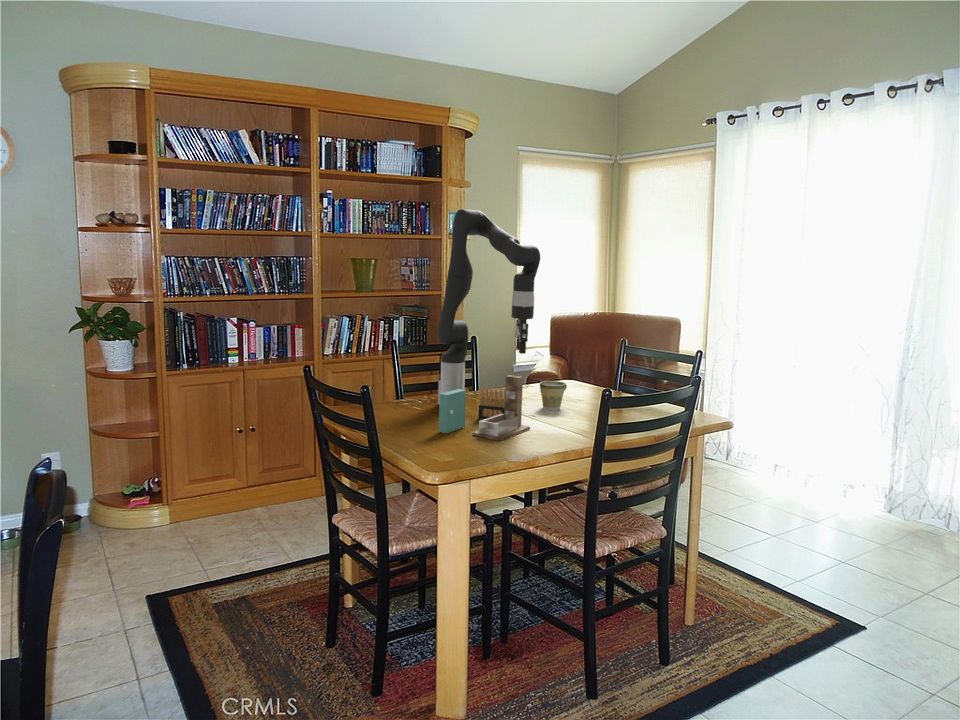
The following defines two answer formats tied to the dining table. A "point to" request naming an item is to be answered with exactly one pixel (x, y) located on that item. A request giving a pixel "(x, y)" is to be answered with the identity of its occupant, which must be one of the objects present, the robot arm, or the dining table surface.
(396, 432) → the dining table surface
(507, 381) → the hinge frame
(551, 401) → the ceramic cup
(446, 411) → the teal door
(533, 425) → the dining table surface
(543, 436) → the dining table surface
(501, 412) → the ammunition clip
